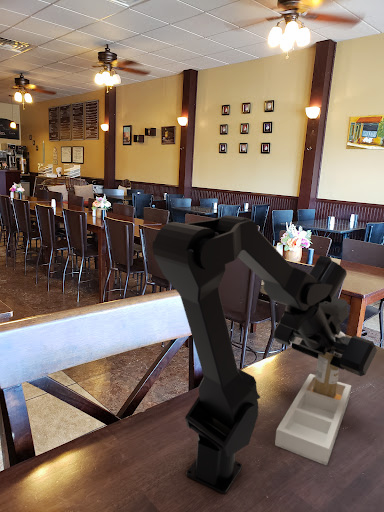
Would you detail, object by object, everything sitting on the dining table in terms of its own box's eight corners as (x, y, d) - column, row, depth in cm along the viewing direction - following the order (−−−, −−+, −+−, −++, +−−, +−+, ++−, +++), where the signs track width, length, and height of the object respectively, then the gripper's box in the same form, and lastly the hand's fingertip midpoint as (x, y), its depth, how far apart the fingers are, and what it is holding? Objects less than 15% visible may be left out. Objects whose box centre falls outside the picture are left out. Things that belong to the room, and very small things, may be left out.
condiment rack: (326, 465, 62) (329, 448, 61) (274, 445, 66) (276, 429, 65) (349, 397, 82) (351, 384, 82) (308, 385, 86) (310, 372, 86)
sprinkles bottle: (337, 401, 77) (348, 338, 75) (314, 398, 78) (324, 335, 75) (332, 389, 82) (342, 329, 79) (310, 386, 82) (319, 326, 80)
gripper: (381, 299, 66) (395, 345, 75) (288, 275, 79) (310, 317, 89) (353, 354, 62) (372, 395, 72) (260, 319, 76) (286, 357, 85)
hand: (332, 362), depth 79 cm, fingers closed on sprinkles bottle, 4 cm apart
